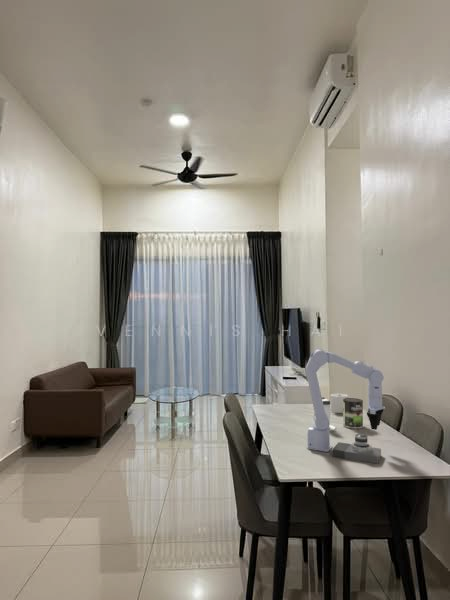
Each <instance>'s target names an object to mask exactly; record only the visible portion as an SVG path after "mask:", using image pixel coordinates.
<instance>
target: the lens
mask: <svg viewBox="0 0 450 600" xmlns="http://www.w3.org/2000/svg"><path fill="white" fill-rule="evenodd" d="M368 440H369V439H368V435H367V434H363V433H355V434H354V443H355V446H357V447H368V444H369V443H368V442H369V441H368ZM367 443H368V444H367Z"/></svg>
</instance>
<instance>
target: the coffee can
mask: <svg viewBox="0 0 450 600" xmlns="http://www.w3.org/2000/svg"><path fill="white" fill-rule="evenodd" d="M363 401H364V400H363V399H360V398H354V397H348V398H345V399H343V413H342V418H343V420H342V421H343V422H342V423H343V424H342V425H343V427H345V428H349V429H353V430H354V429H355V430H358V429H362V428H364V423H363V422H364V421H363V420H364V419H363V418H364V413H363V411H364V407H363V406H364V405H363V403H364V402H363Z"/></svg>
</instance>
